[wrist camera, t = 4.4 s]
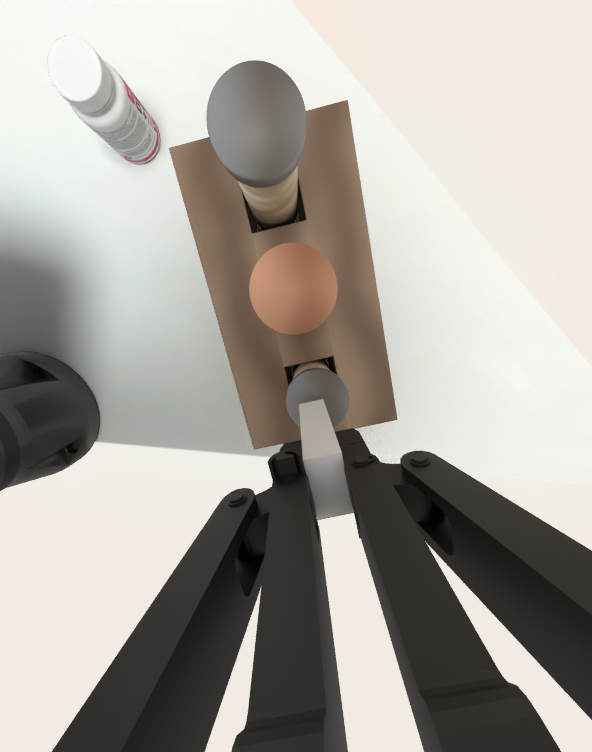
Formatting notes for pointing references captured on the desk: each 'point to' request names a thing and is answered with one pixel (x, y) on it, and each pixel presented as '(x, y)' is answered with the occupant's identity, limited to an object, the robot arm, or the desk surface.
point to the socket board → (316, 228)
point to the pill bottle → (102, 99)
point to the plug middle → (293, 288)
